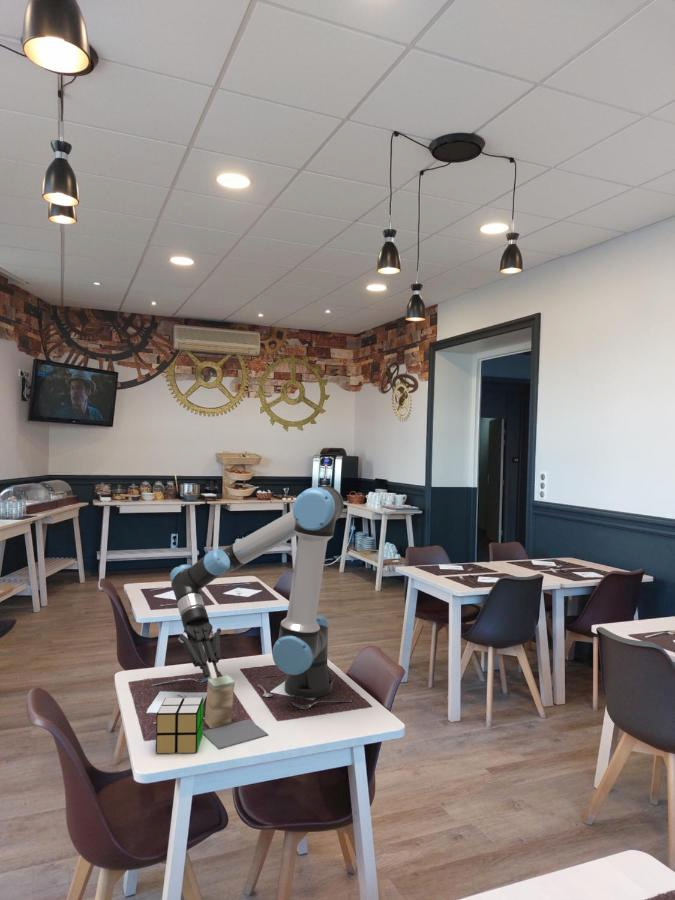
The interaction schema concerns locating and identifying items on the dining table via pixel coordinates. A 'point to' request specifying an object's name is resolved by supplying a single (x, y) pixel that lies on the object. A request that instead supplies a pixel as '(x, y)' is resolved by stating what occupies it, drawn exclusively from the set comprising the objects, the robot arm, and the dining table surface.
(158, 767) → the dining table surface
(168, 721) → the puzzle cube
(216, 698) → the maple block
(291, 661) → the robot arm
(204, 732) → the felt mat
